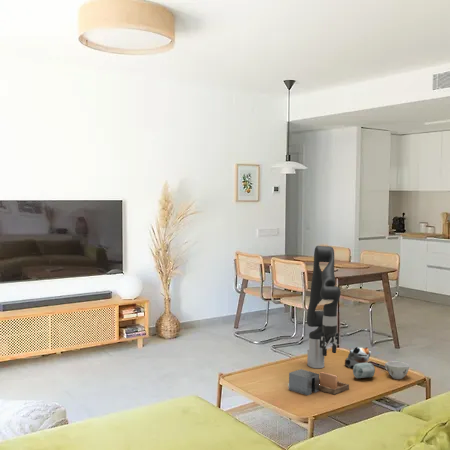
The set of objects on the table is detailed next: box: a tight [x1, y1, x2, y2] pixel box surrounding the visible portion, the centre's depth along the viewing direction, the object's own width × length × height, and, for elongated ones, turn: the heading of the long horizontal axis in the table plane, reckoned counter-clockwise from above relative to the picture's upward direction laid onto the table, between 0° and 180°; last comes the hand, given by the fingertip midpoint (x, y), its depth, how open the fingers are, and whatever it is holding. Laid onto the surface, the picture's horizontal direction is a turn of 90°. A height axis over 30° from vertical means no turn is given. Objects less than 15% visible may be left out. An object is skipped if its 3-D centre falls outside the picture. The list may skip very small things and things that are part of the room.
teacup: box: [384, 360, 410, 380], centre depth 309 cm, size 15×12×8 cm
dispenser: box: [288, 368, 320, 396], centre depth 285 cm, size 12×10×9 cm
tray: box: [318, 378, 350, 396], centre depth 289 cm, size 16×13×3 cm
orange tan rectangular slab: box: [319, 371, 338, 389], centre depth 289 cm, size 10×2×7 cm, turn 44°
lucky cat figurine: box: [344, 346, 372, 369], centre depth 327 cm, size 15×12×14 cm
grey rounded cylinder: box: [352, 362, 376, 379], centre depth 306 cm, size 14×10×10 cm
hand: (329, 354), depth 289 cm, fingers open, 8 cm apart
